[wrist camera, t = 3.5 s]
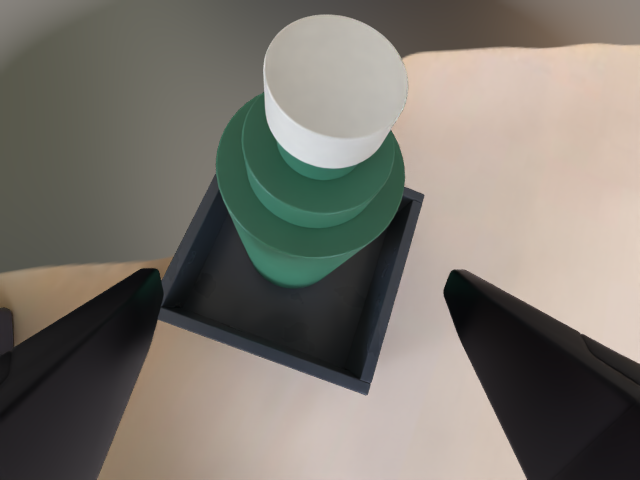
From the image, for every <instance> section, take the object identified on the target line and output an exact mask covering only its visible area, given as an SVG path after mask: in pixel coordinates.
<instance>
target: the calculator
mask: <svg viewBox="0 0 640 480" xmlns="http://www.w3.org/2000/svg"><path fill="white" fill-rule="evenodd" d="M12 349H13V328H12V314H11V311H10V310H9V309H7V308H0V356H1V355H2V354H4V353H6V352H7V351H12Z"/></svg>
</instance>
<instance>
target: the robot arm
mask: <svg viewBox="0 0 640 480" xmlns="http://www.w3.org/2000/svg"><path fill="white" fill-rule="evenodd" d="M163 296H164V291H163V286H162V282H161V278H160V273H159V271H158V270H157V269H155V268H142V269H140V270H138V271H137V272H135V273H133V274H132V275H130V276H128V277H127V278H125V279H124V280H122V281H120V282H119V283H117V284H116V285H114V286H112V287H111V288H109V289H108V290H106V291H104V292H103V293H101V294H99V295H98V296H96V297H95V298H93V299H91V300H90V301H88V302H87V303H85V304H83V305H82V306H80V307H78V308H77V309H75V310H74V311H72V312H70V313H69V314H67V315H66V316H64V317H62V318H61V319H59V320H57V321H56V322H54V323H53V324H51V325H49V326H48V327H46V328H45V329H43V330H41V331H40V332H38V333H36V334H35V335H33V336H32V337H30V338H28V339H27V340H25V341H23V342H22V343H20V344H19V345H17V346H15V347H14V348H13V349H12V351H7V352H6V353H4V354H2V355H1V356H0V480H97V478H98V475H99V473H100V470H101V468H102V465H103V463H104V461H105V458H106V456H107V453H108V451H109V448H110V446H111V443H112V441H113V438H114V436H115V433H116V431H117V428H118V426H119V423H120V421H121V418H122V416H123V413H124V411H125V408H126V406H127V403H128V401H129V398H130V396H131V393H132V391H133V388H134V386H135V383H136V381H137V378H138V376H139V373H140V371H141V368H142V366H143V363H144V361H145V359H146V356H147V353H148V351H149V348H150V345H151V342H152V339H153V335H154V331H155V327H156V324H157V320H158V316H159V312H160V309H161V305H162V301H163ZM444 298H445V300H446V303H447V306H448V309H449V312H450V314H451V317H452V320H453V323H454V326H455V328H456V331H457V334H458V336H459V338H460V341H461V343H462V345H463V347H464V349H465V351H466V353H467V355H468V358H469V360H470V362H471V364H472V366H473V368H474V370H475V372H476V374H477V376H478V378H479V380H480V382H481V385H482V387H483V389H484V391H485V393H486V395H487V397H488V399H489V401H490V403H491V405H492V407H493V409H494V412H495V414H496V416H497V418H498V420H499V422H500V424H501V426H502V428H503V430H504V432H505V434H506V437H507V439H508V441H509V443H510V445H511V447H512V449H513V451H514V453H515V455H516V457H517V459H518V461H519V464H520V466H521V468H522V470H523V472H524V474H525V476H526V478H527V480H640V364H639V363H637V362H635V361H633V360H631V359H629V358H627V357H625V356H623V355H621V354H619V353H617V352H615V351H613V350H611V349H610V348H608V347H606V346H604V345H602V344H600V343H598V342H596V341H595V340H593V339H591V338H589V337H587V336H586V335H584V334H580V332H578V331H576V330H574V329H573V328H571V327H569V326H567V325H565V324H563V323H562V322H560V321H558V320H556V319H554V318H553V317H551V316H549V315H547V314H545V313H543V312H542V311H540V310H538V309H536V308H534V307H532V306H531V305H529V304H527V303H525V302H523V301H521V300H520V299H518V298H516V297H514V296H512V295H511V294H509V293H507V292H505V291H503V290H501V289H500V288H498V287H496V286H494V285H492V284H490V283H489V282H487V281H485V280H483V279H481V278H479V277H478V276H476V275H474V274H472V273H470V272H468V271H467V270H452V271H451V272H450V274H449V277H448V279H447V282H446V285H445V287H444Z"/></svg>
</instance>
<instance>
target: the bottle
mask: <svg viewBox="0 0 640 480" xmlns="http://www.w3.org/2000/svg"><path fill="white" fill-rule="evenodd" d="M263 73H264V92H263V93H262V94H260V95H258V96H256V97H254V98H253V99H252V100H250V101H249V102H247V103H246V104H245V105H244V106H243V107H242V108H240V109H239V110H238V112H237V113H236V114H235V115H234V116H233V117H232V119H231V120H230V122H229V123H228V125H227V127H226V128H225V130H224V132H223V135H222V137H221V139H220V143H219V146H218V150H217V157H216V176H217V181H218V187H219V190H220V193H221V196H222V198H223V201H224V203H225V205H226V207H227V210H228V212H229V214H230V216H231V218H232V221H233V223H234V225H235V227H236V229H237V232H238V234H239V236H240V238H241V240H242V243H243V245H244V247H245V249H246V251H247V254H248V256H249V258H250V260H251V262H252V264H253V266H254V268H255V269H256V270H257V272H258V273H259V274H260V275H261V276H262V277H263V278H265V279H266V280H267V281H269V282H270V283H272V284H274V285H277V286H280V287H283V288H290V289H297V288H304V287H308V286H310V285H313V284H315V283H317V282H319V281H320V280H321V279H323V278H324V277H325V276H327V275H328V274H329V273H331V272H332V271H333V270H335V269H336V268H337V267H339V266H340V265H341V264H342V263H344V262H345V261H346V260H348V259H349V258H350V257H352V256H353V255H354V254H356V253H357V252H358V251H360V250H361V249H362V248H364V247H365V246H366V245H368V244H369V243H370V242H372V241H373V240H374V239H376V238H377V237H378V236H379V235H380V234H381V233H382V232H383V231H384V230H385V229H386V228H387V226H388V225H389V224H390V222H391V221H392V219H393V218H394V216H395V214H396V212H397V210H398V208H399V205H400V203H401V200H402V196H403V191H404V183H405V171H404V162H403V157H402V154H401V150H400V147H399V145H398V143H397V140H396V138H395V136H394V134H393V133H392V131H391V128H392V127H393V125H394V123H395V122H396V120H397V119H398V117H399V115H400V114H401V112H402V111H403V108H404V106H405V104H406V100H407V96H408V77H407V72H406V69H405V66H404V63H403V61H402V59H401V57H400V55H399V54H398V52H397V51H396V49H395V48H394V47H393V45H392V44H391V43H390V42H389V41H388V40H387V39H386V38H385V37H384V36H383V35H382V34H380V33H379V32H378V31H376V30H375V29H373V28H371V27H370V26H368V25H366V24H364V23H362V22H360V21H357V20H355V19H352V18H348V17H344V16H338V15H314V16H309V17H306V18H302V19H299V20H297V21H295V22H293V23H291V24H289V25H288V26H286V27H285V28H284V29H283V30H281V31H280V32H279V33H278V34H277V35H276V37H275V38H274V39H273V41H272V42H271V44H270V46H269V48H268V50H267V52H266V55H265V59H264V68H263Z"/></svg>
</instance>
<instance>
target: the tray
mask: <svg viewBox="0 0 640 480" xmlns="http://www.w3.org/2000/svg"><path fill="white" fill-rule="evenodd" d="M423 199H424V194H421V193H419V192H416V191H414V190H411V189H409V188H406V187H404V191H403V196H402V200H401V203H400V205H399V208H398V210H397V212H396V214H395V216H394V218H393V219H392V221H391V222H390V224H389V225H388V226H387V228H386V229H385V230H384V231H383V232H382V233H381V234H380V235H379V236H378V237H377V238H376V239H374V240H373V241H372V242H370V243H369V244H368V245H366V246H365V247H364V248H362V249H361V250H360V251H358V252H357V253H356V254H354V255H353V256H352V257H350V258H349V259H348V260H346V261H345V262H344V263H342V264H341V265H340V266H339V267H337V268H336V269H335V270H333V271H332V272H331V273H329V274H328V275H327V276H325V277H324V278H323V279H321V280H320V281H319V282H317V283H315V284H313V285H310V286H308V287H304V288H297V289H290V288H283V287H280V286H277V285H274V284H272V283H270V282H269V281H267V280H266V279H265V278H263V277H262V276H261V275H260V274H259V273H258V272H257V270H256V269H255V268H254V266H253V264H252V262H251V260H250V258H249V256H248V254H247V251H246V249H245V247H244V245H243V243H242V240H241V238H240V236H239V234H238V232H237V229H236V227H235V225H234V223H233V221H232V218H231V216H230V214H229V212H228V210H227V207H226V205H225V203H224V201H223V198H222V196H221V193H220V190H219V187H218V181H217V176H216V174H215V176H214V178H213V180H212V182H211V184H210V186H209V188H208V190H207V192H206V194H205V196H204V198H203V200H202V202H201V204H200V206H199V208H198V210H197V212H196V214H195V216H194V217H193V219H192V222H191V224H190V225H189V228H188V229H187V231H186V233H185V235H184V237H183V240H182V241H181V243H180V245H179V247H178V249H177V251H176V253H175V255H174V257H173V259H172V261H171V263H170V265H169V267H168V269H167V271H166V273H165V275H164V277H163V279H162V281H161V282H162V286H163V291H164V296H163V301H162V305H161V309H160V312H159V316H158V320H160V321H163V322H166V323H168V324H171V325H174V326H177V327H179V328H182V329H185V330H188V331H190V332H193V333H196V334H199V335H201V336H204V337H207V338H210V339H212V340H215V341H218V342H221V343H223V344H226V345H229V346H232V347H234V348H237V349H240V350H243V351H245V352H248V353H251V354H254V355H256V356H259V357H262V358H265V359H267V360H270V361H273V362H276V363H278V364H281V365H284V366H287V367H289V368H292V369H295V370H298V371H300V372H303V373H306V374H309V375H311V376H314V377H317V378H320V379H322V380H325V381H328V382H331V383H333V384H336V385H339V386H342V387H344V388H347V389H350V390H353V391H355V392H358V393H361V394H364V395H368V392H369V389H370V383H371V382H372V379H373V375H374V372H375V368H376V365H377V361H378V357H379V354H380V350H381V347H382V343H383V340H384V336H385V333H386V329H387V326H388V322H389V319H390V315H391V312H392V308H393V305H394V301H395V298H396V294H397V291H398V287H399V283H400V280H401V276H402V273H403V269H404V266H405V262H406V259H407V255H408V252H409V248H410V245H411V241H412V238H413V234H414V231H415V227H416V224H417V220H418V216H419V213H420V209H421V206H422V202H423Z"/></svg>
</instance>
